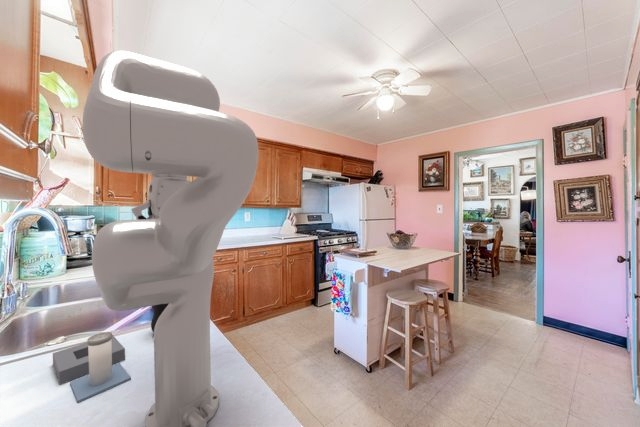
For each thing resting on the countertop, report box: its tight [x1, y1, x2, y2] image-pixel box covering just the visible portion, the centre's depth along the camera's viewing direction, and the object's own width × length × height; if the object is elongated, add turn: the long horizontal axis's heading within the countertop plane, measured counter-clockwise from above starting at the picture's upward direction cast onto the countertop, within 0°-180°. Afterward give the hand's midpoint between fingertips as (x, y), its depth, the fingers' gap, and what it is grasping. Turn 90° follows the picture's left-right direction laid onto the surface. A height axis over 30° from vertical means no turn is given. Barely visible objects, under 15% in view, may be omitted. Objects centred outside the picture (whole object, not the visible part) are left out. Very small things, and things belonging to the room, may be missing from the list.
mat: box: [69, 362, 132, 404], centre depth 58 cm, size 9×9×1 cm
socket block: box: [52, 334, 126, 386], centre depth 65 cm, size 12×12×3 cm
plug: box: [87, 331, 113, 386], centre depth 58 cm, size 4×4×10 cm
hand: (172, 240), depth 66 cm, fingers open, 9 cm apart
